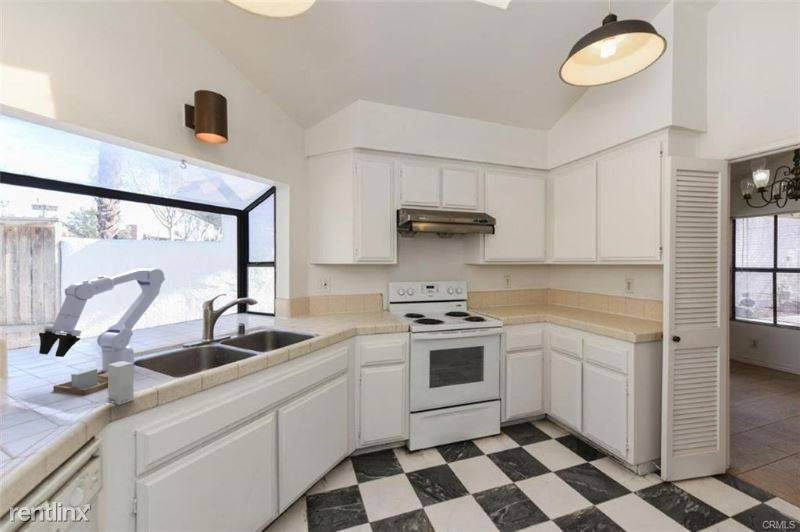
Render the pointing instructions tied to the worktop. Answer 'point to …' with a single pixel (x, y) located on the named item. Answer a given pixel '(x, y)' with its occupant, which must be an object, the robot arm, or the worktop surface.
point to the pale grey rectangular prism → (84, 379)
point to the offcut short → (102, 377)
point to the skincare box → (120, 382)
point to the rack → (67, 389)
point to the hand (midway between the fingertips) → (51, 355)
